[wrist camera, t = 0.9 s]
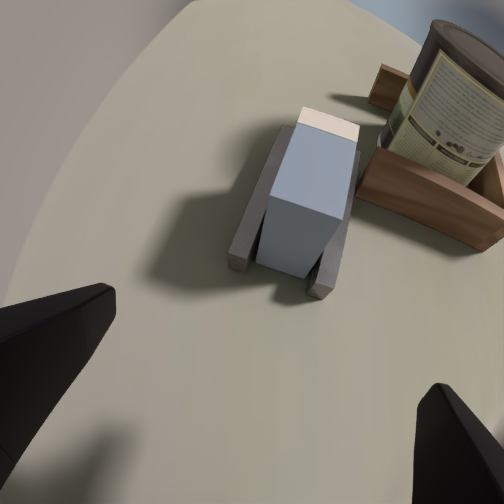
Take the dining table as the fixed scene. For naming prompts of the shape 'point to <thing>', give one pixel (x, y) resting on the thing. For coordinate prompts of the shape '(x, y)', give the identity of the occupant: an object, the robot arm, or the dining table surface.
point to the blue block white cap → (308, 193)
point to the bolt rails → (255, 215)
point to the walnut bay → (432, 184)
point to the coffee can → (450, 105)
